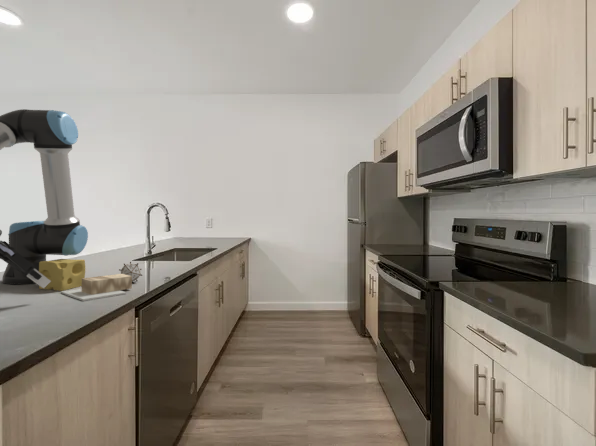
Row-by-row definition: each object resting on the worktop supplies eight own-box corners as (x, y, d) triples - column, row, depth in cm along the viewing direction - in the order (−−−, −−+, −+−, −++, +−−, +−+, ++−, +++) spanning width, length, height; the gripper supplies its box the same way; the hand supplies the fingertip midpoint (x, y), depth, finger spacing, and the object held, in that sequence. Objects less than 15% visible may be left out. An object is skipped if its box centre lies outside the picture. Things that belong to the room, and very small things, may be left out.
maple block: (91, 281, 119) (131, 276, 130) (81, 278, 123) (121, 273, 134) (91, 294, 119) (131, 288, 130) (81, 291, 123) (121, 285, 134)
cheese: (62, 291, 124) (62, 263, 124) (36, 289, 127) (36, 261, 126) (85, 285, 135) (86, 259, 134) (61, 283, 137) (61, 257, 137)
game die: (135, 291, 144) (151, 272, 144) (116, 286, 138) (132, 266, 137) (128, 277, 150) (143, 259, 149) (110, 272, 143) (125, 253, 142)
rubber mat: (83, 301, 113) (83, 299, 113) (61, 293, 122) (61, 291, 122) (126, 293, 124) (126, 292, 124) (103, 287, 133) (103, 285, 133)
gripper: (-44, 239, 98) (27, 291, 112) (-29, 243, 91) (45, 297, 105) (-18, 220, 102) (47, 272, 117) (-2, 222, 95) (65, 277, 109)
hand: (46, 284), depth 111 cm, fingers closed
